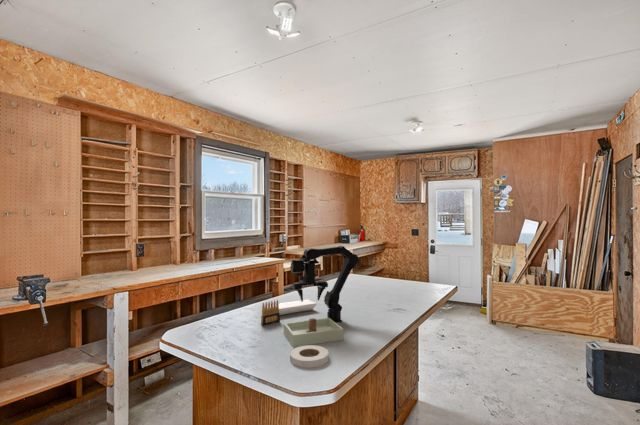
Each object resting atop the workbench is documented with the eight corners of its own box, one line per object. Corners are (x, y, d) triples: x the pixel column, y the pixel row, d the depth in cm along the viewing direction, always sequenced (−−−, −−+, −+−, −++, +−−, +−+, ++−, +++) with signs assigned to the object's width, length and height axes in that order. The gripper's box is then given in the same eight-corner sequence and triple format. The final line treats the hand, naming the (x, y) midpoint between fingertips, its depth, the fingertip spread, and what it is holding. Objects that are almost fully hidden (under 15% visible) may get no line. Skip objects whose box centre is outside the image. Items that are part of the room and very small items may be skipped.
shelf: (316, 311, 195) (316, 303, 195) (270, 319, 180) (270, 310, 180) (307, 307, 205) (307, 299, 205) (263, 314, 190) (263, 305, 190)
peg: (315, 334, 154) (314, 318, 155) (317, 337, 151) (317, 320, 151) (308, 335, 153) (307, 318, 153) (310, 338, 150) (310, 321, 150)
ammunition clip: (262, 326, 168) (262, 303, 168) (261, 325, 169) (261, 302, 170) (279, 321, 175) (279, 299, 175) (277, 321, 176) (277, 299, 177)
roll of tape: (282, 362, 125) (282, 355, 125) (304, 349, 138) (304, 342, 138) (315, 372, 117) (315, 364, 117) (335, 356, 130) (335, 349, 130)
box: (329, 327, 164) (329, 317, 165) (343, 339, 147) (343, 328, 148) (283, 333, 156) (283, 323, 156) (293, 346, 139) (293, 335, 140)
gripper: (321, 268, 183) (321, 296, 183) (289, 270, 177) (289, 299, 176) (328, 271, 173) (328, 300, 172) (294, 273, 166) (294, 304, 166)
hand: (310, 301), depth 172 cm, fingers open, 9 cm apart
